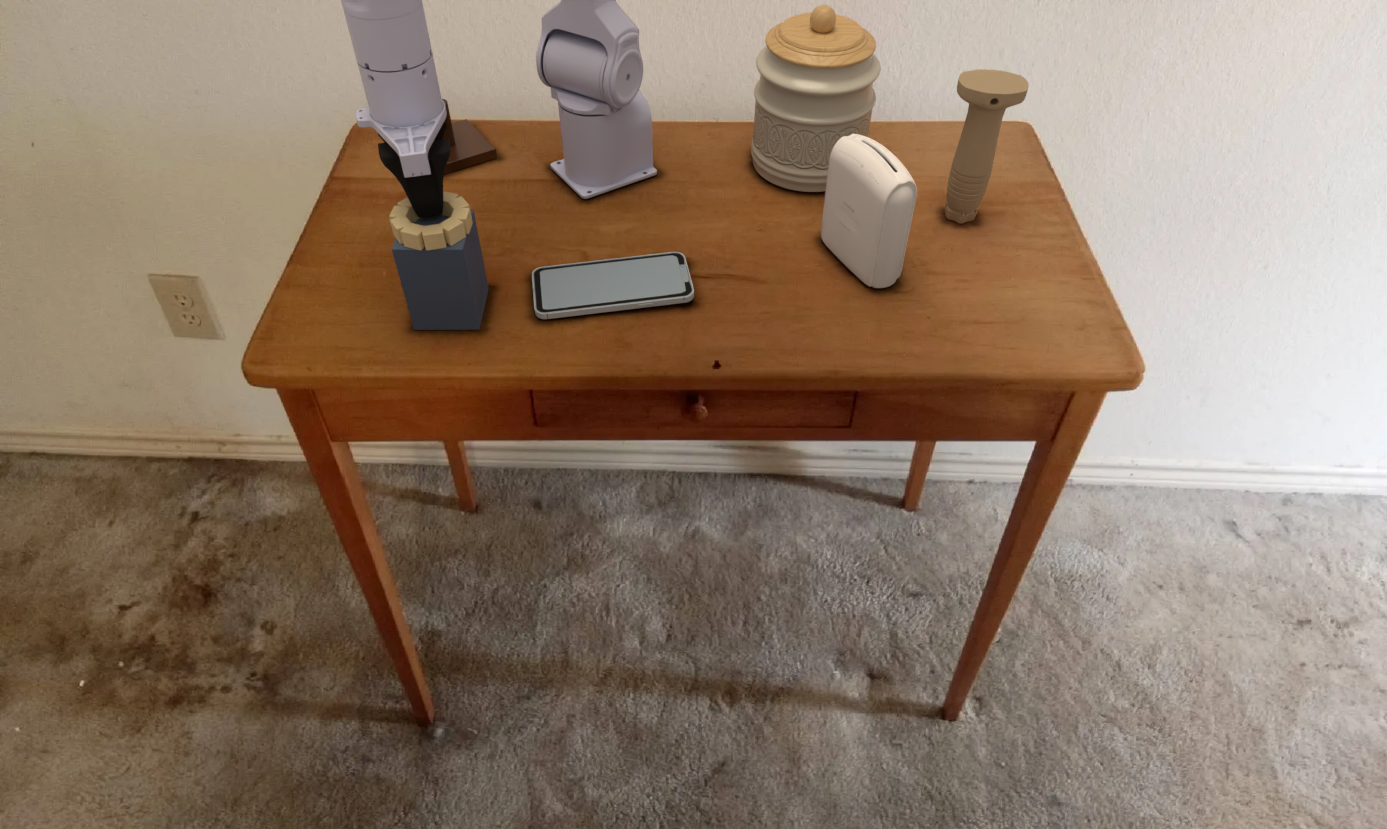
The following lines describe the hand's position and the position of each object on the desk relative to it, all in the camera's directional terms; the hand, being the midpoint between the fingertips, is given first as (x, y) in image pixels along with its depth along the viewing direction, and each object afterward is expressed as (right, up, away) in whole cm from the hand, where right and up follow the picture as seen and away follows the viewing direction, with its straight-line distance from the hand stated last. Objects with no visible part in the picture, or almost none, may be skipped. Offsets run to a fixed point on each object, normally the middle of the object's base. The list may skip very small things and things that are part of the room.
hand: (429, 206), depth 81 cm
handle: (+51, +3, +17) cm, 54 cm away
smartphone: (+16, -6, +8) cm, 18 cm away
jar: (+36, +10, +24) cm, 44 cm away
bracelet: (+1, -2, -1) cm, 2 cm away
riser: (+1, -8, +5) cm, 10 cm away
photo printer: (+40, -3, +11) cm, 41 cm away
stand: (-5, +12, +25) cm, 28 cm away
